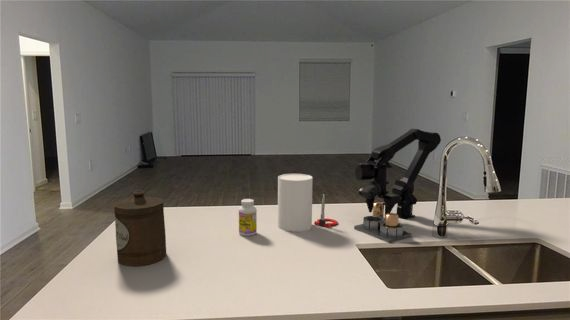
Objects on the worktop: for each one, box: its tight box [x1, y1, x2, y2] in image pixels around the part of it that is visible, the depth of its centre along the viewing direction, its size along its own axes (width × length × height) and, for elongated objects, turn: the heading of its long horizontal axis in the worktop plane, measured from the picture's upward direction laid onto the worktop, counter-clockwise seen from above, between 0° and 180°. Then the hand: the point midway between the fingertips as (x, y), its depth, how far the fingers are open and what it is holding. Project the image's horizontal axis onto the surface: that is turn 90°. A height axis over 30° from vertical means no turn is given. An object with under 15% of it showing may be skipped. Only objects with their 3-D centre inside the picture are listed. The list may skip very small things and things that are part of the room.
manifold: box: [353, 212, 413, 244], centre depth 153 cm, size 18×12×8 cm, turn 33°
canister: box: [277, 173, 314, 233], centre depth 159 cm, size 14×14×20 cm
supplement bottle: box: [238, 198, 258, 237], centre depth 150 cm, size 7×7×13 cm
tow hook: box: [313, 193, 338, 228], centre depth 163 cm, size 8×13×9 cm
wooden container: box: [113, 189, 167, 267], centre depth 127 cm, size 15×15×22 cm
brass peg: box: [372, 201, 385, 218], centre depth 169 cm, size 4×4×7 cm
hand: (378, 214), depth 170 cm, fingers open, 9 cm apart
